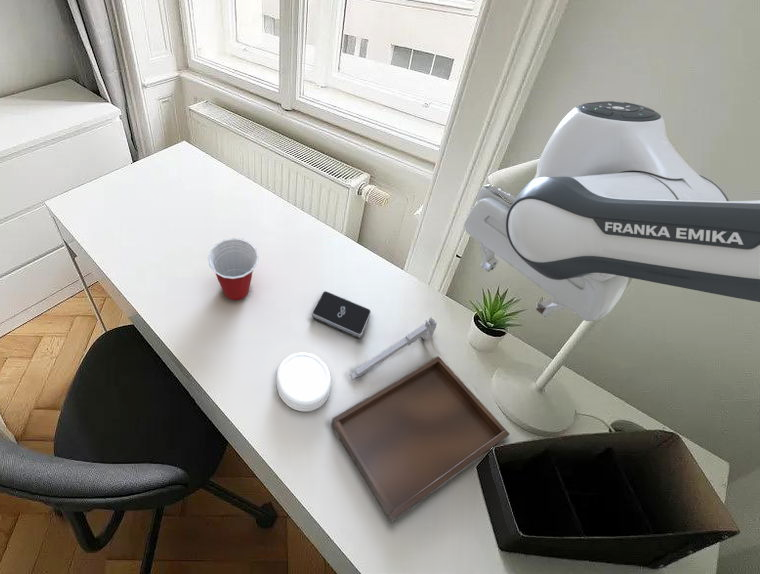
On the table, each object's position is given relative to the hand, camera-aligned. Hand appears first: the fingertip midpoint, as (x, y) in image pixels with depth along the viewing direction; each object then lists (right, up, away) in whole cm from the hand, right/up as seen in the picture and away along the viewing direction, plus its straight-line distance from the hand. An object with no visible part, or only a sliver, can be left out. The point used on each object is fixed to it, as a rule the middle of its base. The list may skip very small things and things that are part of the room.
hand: (513, 288), depth 61 cm
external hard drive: (-21, -12, +27) cm, 36 cm away
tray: (-11, -27, +9) cm, 30 cm away
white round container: (-30, -22, +16) cm, 40 cm away
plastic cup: (-44, -8, +33) cm, 55 cm away
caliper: (-12, -18, +20) cm, 29 cm away
